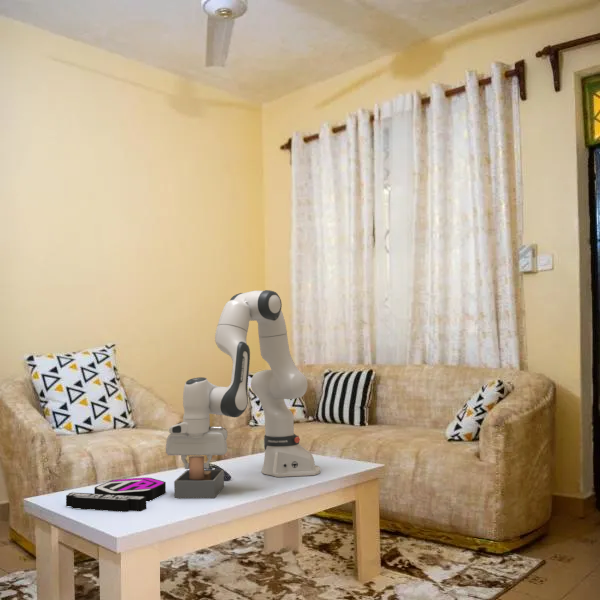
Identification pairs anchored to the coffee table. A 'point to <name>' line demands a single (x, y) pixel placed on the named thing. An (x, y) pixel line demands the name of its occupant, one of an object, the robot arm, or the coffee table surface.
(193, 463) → the terracotta canister
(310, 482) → the coffee table surface
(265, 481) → the coffee table surface
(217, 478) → the box
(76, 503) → the sign
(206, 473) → the walnut cube
